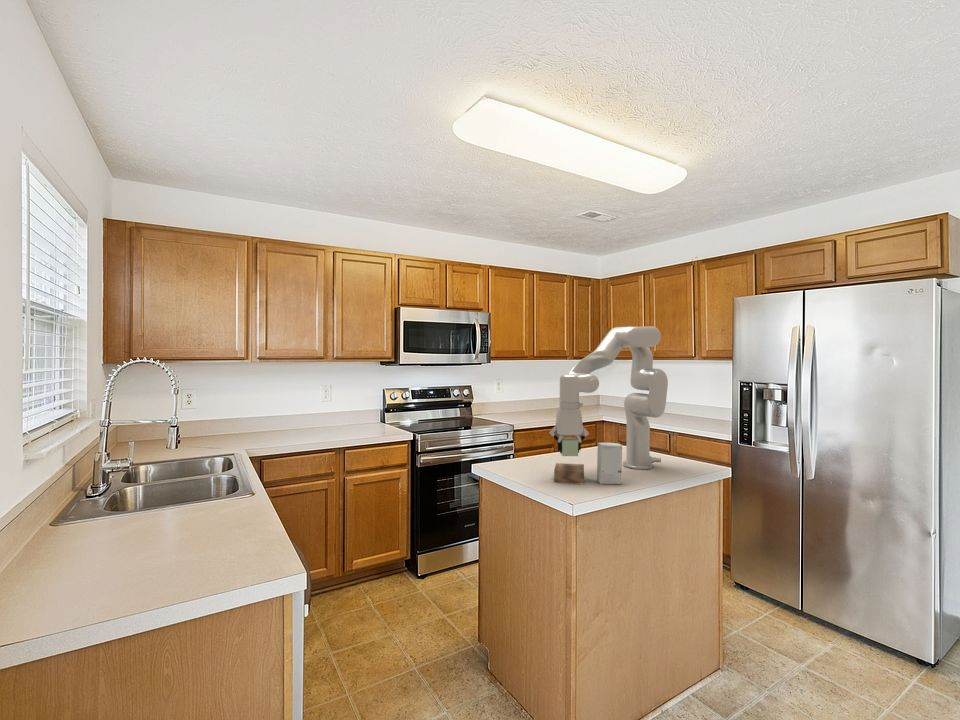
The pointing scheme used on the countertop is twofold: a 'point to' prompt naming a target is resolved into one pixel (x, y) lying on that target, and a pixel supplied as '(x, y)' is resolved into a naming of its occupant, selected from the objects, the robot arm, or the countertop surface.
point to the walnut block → (569, 473)
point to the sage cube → (569, 447)
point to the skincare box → (609, 463)
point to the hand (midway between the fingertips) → (569, 451)
